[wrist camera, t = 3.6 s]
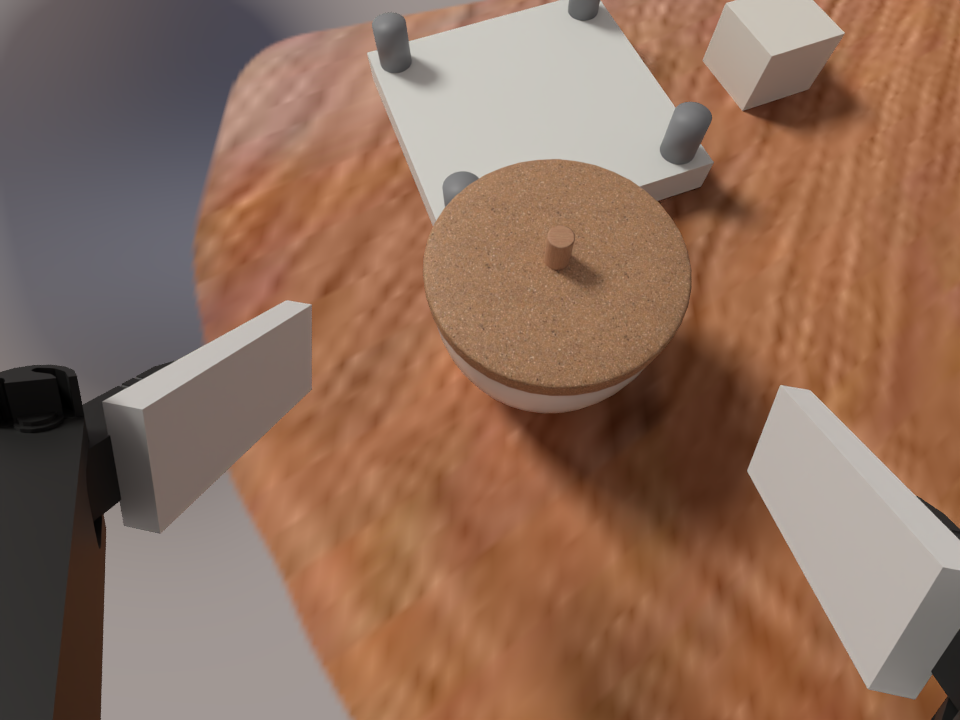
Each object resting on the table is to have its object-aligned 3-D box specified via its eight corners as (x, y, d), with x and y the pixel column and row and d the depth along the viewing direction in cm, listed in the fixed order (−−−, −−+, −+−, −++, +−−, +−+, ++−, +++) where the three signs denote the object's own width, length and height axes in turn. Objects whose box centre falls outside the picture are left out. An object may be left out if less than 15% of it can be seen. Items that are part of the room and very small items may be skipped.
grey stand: (700, 186, 32) (732, 128, 28) (450, 268, 30) (443, 218, 26) (588, 19, 38) (600, -50, 34) (373, 79, 36) (357, 14, 32)
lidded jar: (449, 252, 30) (432, 122, 22) (637, 260, 30) (695, 131, 21) (430, 433, 26) (399, 362, 18) (647, 446, 26) (725, 380, 17)
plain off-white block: (807, 91, 35) (845, 33, 31) (741, 112, 34) (771, 56, 31) (765, 42, 37) (795, -18, 33) (701, 62, 36) (725, 3, 32)
